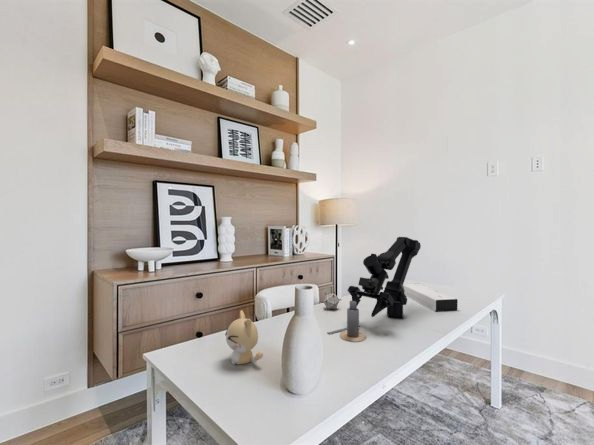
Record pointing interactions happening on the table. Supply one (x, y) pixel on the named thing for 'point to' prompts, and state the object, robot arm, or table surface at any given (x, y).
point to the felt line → (337, 331)
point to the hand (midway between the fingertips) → (361, 313)
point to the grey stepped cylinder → (353, 320)
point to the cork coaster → (344, 336)
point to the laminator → (430, 297)
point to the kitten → (242, 340)
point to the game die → (331, 301)
